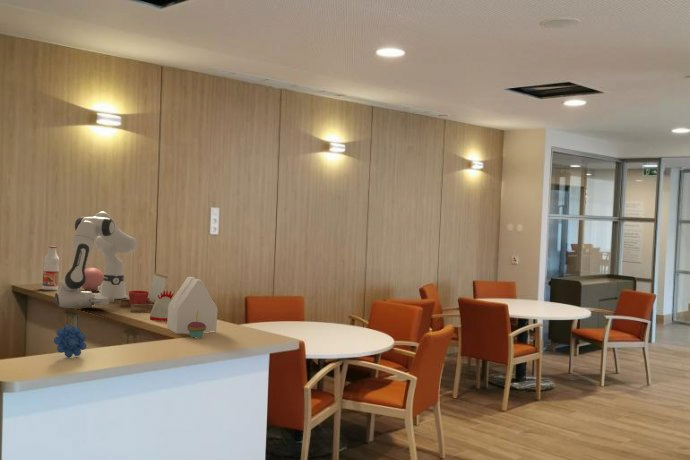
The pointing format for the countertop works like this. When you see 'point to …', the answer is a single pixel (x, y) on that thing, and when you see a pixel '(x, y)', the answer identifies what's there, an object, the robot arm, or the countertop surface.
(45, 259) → the fruit juice
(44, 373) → the countertop surface
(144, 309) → the cold frame
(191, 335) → the cupcake
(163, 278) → the frame lid
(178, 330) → the white house-shaped block
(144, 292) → the flower pot
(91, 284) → the pink egg shape
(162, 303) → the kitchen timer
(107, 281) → the robot arm
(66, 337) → the blue flower
